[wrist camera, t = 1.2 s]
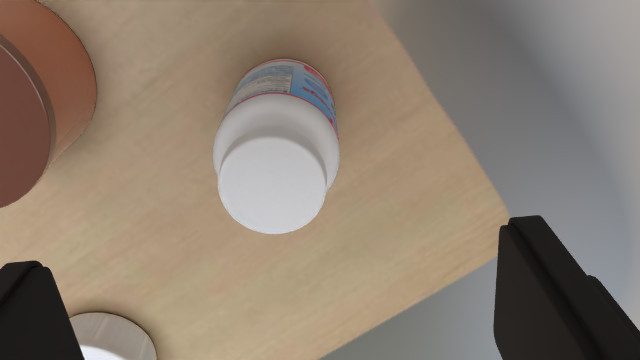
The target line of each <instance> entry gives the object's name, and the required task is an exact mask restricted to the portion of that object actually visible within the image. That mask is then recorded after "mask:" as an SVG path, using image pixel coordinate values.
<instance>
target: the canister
mask: <svg viewBox="0 0 640 360" xmlns="http://www.w3.org/2000/svg"><path fill="white" fill-rule="evenodd" d="M96 97H97V89H96V80H95V74H94V71H93V67H92V64H91V61H90V59H89V57H88V54H87V52H86V50H85V49H84V47H83V45H82V43H81V42H80V40H79V39H78V38H77V36H76V35H75V33H74V32H73V31H72V30H71V29H70V28H69V27H68V25H67V24H66V23H65V22H64V21H62V20H61V19H60V18H59V17H58V16H57V15H56V14H54V13H53V12H52V11H50V10H49V9H48V8H46V7H45V6H43V5H41V4H40V3H38V2H36V1H34V0H0V208H2V207H5V206H8V205H10V204H12V203H13V202H15V201H17V200H19V199H20V198H21V197H23V196H24V195H25V194H27V193H28V192H29V191H30V190H31V189H32V188H33V187H34V186H35V185H36V184H37V183H38V182H39V181H40V180H41V179H42V177H43V176H44V174H45V173H46V171H47V170H48V168H49V166H50V165H51V164H52V163H53V162H54V161H55V160H56V159H57V158H58V157H59V156H60V155H61V154H62V153H63V152H64V151H65V150H66V149H67V148H68V147H69V146H70V145H71V144H72V143H73V142H74V141H75V140H76V139H77V138H78V137H79V136H80V135H81V134H82V133H83V132H84V131H85V129H86V128H87V126H88V125H89V123H90V120H91V118H92V116H93V113H94V109H95V105H96Z"/></svg>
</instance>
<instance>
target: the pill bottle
mask: <svg viewBox="0 0 640 360" xmlns="http://www.w3.org/2000/svg"><path fill="white" fill-rule="evenodd" d="M339 162H340V148H339V138H338V131H337V123H336V114H335V105H334V99H333V95H332V92H331V89H330V87H329V85H328V84H327V82H326V81H325V79H324V78H323V77H322V75H321V74H320V73H319V72H318V71H316V70H315V69H314V68H312V67H311V66H309V65H307V64H305V63H303V62H300V61H297V60H292V59H276V60H271V61H268V62H265V63H262V64H260V65H258V66H256V67H255V68H253V69H252V70H250V71H249V72H248V73H247V74H246V75H245V76H244V77H243V78H242V80H241V81H240V82H239V84H238V86H237V88H236V90H235V92H234V94H233V96H232V99H231V101H230V103H229V105H228V108H227V110H226V112H225V115H224V117H223V119H222V121H221V124H220V126H219V128H218V131H217V134H216V136H215V140H214V145H213V163H214V168H215V171H216V174H217V177H218V191H219V196H220V199H221V201H222V203H223V205H224V207H225V208H226V210H227V212H228V213H229V214H230V215H231V216H232V217H233V218H234V219H235V220H236V221H237V222H239V223H240V224H242V225H243V226H245V227H247V228H249V229H251V230H254V231H256V232H260V233H265V234H283V233H289V232H292V231H295V230H297V229H299V228H301V227H303V226H305V225H306V224H308V223H309V222H310V221H311V220H312V219H313V218H314V217H315V216H316V215H317V214H318V212H319V211H320V209H321V207H322V205H323V202H324V199H325V195H326V193H327V191H328V190H329V189H330V187H331V186H332V184H333V182H334V180H335V177H336V175H337V172H338V168H339Z"/></svg>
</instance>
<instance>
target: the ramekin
mask: <svg viewBox="0 0 640 360" xmlns="http://www.w3.org/2000/svg"><path fill="white" fill-rule="evenodd" d="M69 319H70V322H71V325H72V327H73V330H74V332H75V335H76V338H77V340H78V343H79V346H80V348H81V351H82V353H83V356H84V359H85V360H156V351H155V348H154V345H153V343H152V341H151V339H150V338H149V336H148V335H147V334H146V333H145V332H144V331H143V330H142V329H141V328H140V327H139V326H137V325H136V324H134V323H133V322H131V321H129V320H127V319H125V318H122V317H120V316H116V315H112V314H107V313H85V314H80V315H76V316H73V317H71V318H69Z"/></svg>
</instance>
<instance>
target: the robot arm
mask: <svg viewBox="0 0 640 360" xmlns="http://www.w3.org/2000/svg"><path fill="white" fill-rule="evenodd" d="M494 337H495V342H496V345H497V347H498V350H499V352H500V354H501V357H502V359H503V360H640V331H639V330H638V329H637V327H636V326H635V325H634V324H633V322H632V321H631V320H630V319H629V317H628V316H627V315H626V313H625V312H624V311H623V310H622V309H621V307H620V306H619V305H618V304H617V302H616V301H615V300H614V299H613V297H612V296H611V295H610V293H609V292H608V291H607V290H606V288H605V287H604V286H603V285H602V283H601V282H600V281H599V280H598V279H597V278H596V277H593V276H591V275H588V276H587V275H586V274H585V272H584V271H583V270H582V269H581V267H580V266H579V265H578V263H577V262H576V261H575V259H574V258H573V257H572V256H571V254H570V253H569V252H568V251H567V249H566V248H565V246H564V245H563V244H562V242H561V241H560V240H559V239H558V237H557V236H556V235H555V233H554V232H553V231H552V230H551V228H550V227H549V226H548V224H547V223H546V222H545V220H544V219H543V218H542V217H541V216H538V215H536V216H525V217H514V218H510V219H509V222H508V225H503V226H501V227H500V231H499V245H498V262H497V278H496V294H495V310H494ZM0 360H85V359H84V356H83V353H82V351H81V348H80V346H79V343H78V340H77V338H76V335H75V332H74V330H73V327H72V325H71V322H70V319H69V317H68V314H67V311H66V309H65V306H64V304H63V301H62V298H61V296H60V293H59V290H58V288H57V285H56V283H55V280H54V277H53V275H52V272H51V270H50V269H49V268H48V267H43V266H42V264H41V263H40V262H38V261H25V262H14V263H7V264H6V265H4V266H3V267H2V268H1V269H0Z"/></svg>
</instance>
